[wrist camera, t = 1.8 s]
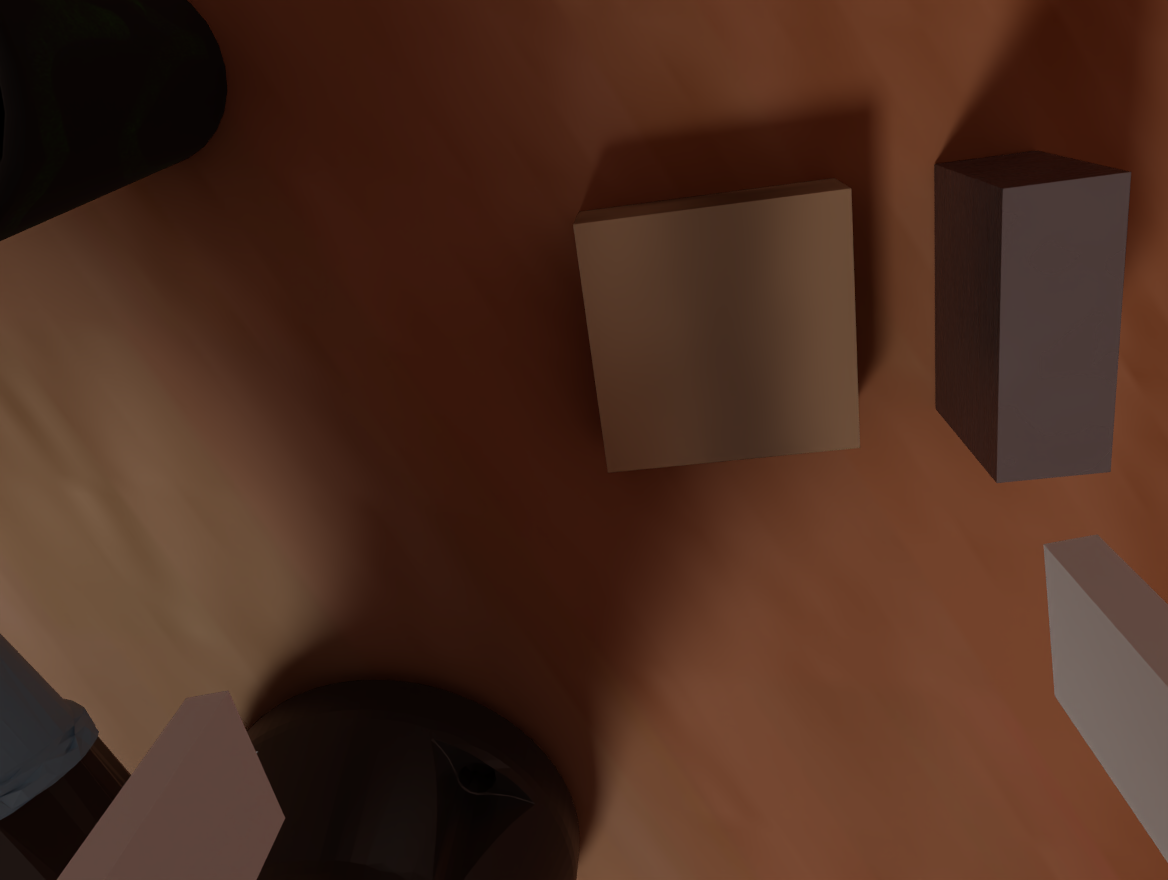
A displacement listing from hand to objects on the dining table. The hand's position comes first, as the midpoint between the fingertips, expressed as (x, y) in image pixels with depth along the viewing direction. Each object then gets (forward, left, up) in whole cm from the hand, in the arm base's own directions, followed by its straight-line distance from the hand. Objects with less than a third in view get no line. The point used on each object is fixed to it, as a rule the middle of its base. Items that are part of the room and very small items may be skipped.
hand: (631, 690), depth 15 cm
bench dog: (+11, +1, -18) cm, 21 cm away
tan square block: (+3, +1, -18) cm, 19 cm away
